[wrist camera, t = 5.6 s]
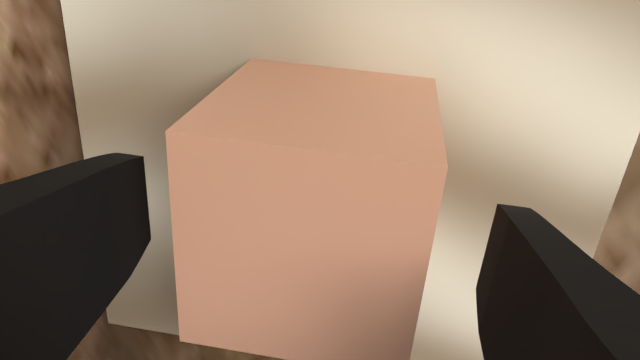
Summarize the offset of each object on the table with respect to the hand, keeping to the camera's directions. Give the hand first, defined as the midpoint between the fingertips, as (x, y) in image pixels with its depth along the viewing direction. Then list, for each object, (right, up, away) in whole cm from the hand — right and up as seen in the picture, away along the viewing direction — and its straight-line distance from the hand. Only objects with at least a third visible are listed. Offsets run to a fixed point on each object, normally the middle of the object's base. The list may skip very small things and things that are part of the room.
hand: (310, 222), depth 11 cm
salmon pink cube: (+1, +2, +3) cm, 3 cm away
